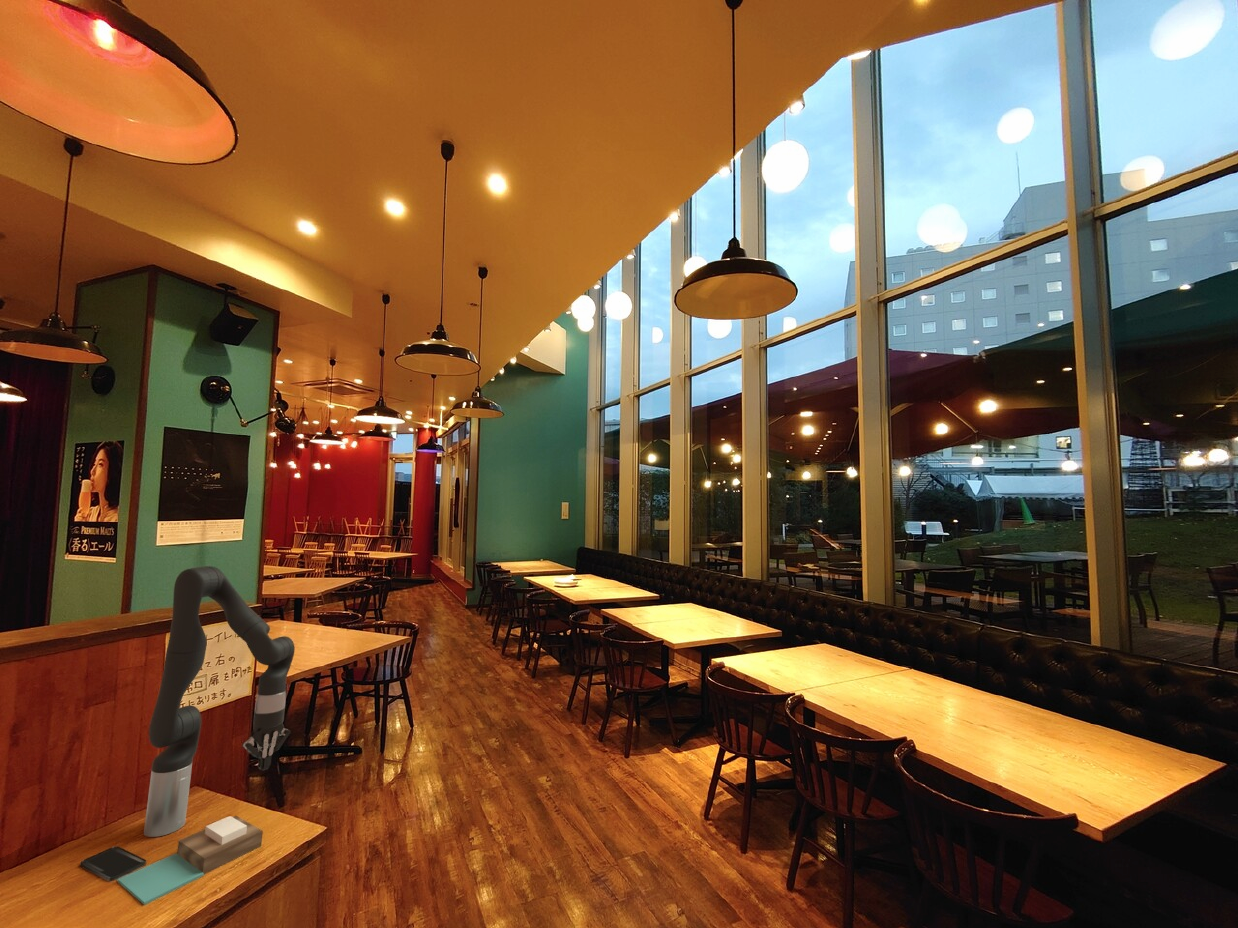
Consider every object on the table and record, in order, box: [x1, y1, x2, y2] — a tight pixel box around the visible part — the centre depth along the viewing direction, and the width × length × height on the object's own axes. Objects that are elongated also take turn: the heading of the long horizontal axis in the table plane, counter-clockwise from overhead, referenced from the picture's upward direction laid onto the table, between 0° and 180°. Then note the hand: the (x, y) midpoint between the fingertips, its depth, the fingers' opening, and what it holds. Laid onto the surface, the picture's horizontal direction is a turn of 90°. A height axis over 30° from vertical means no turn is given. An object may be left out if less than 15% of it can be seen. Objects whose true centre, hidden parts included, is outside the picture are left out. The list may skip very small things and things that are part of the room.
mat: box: [117, 853, 205, 906], centre depth 132 cm, size 15×12×1 cm
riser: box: [176, 815, 264, 875], centre depth 144 cm, size 14×14×4 cm
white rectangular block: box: [205, 815, 247, 845], centre depth 145 cm, size 9×6×2 cm, turn 62°
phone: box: [79, 845, 147, 882], centre depth 137 cm, size 8×1×15 cm
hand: (263, 768), depth 154 cm, fingers closed
